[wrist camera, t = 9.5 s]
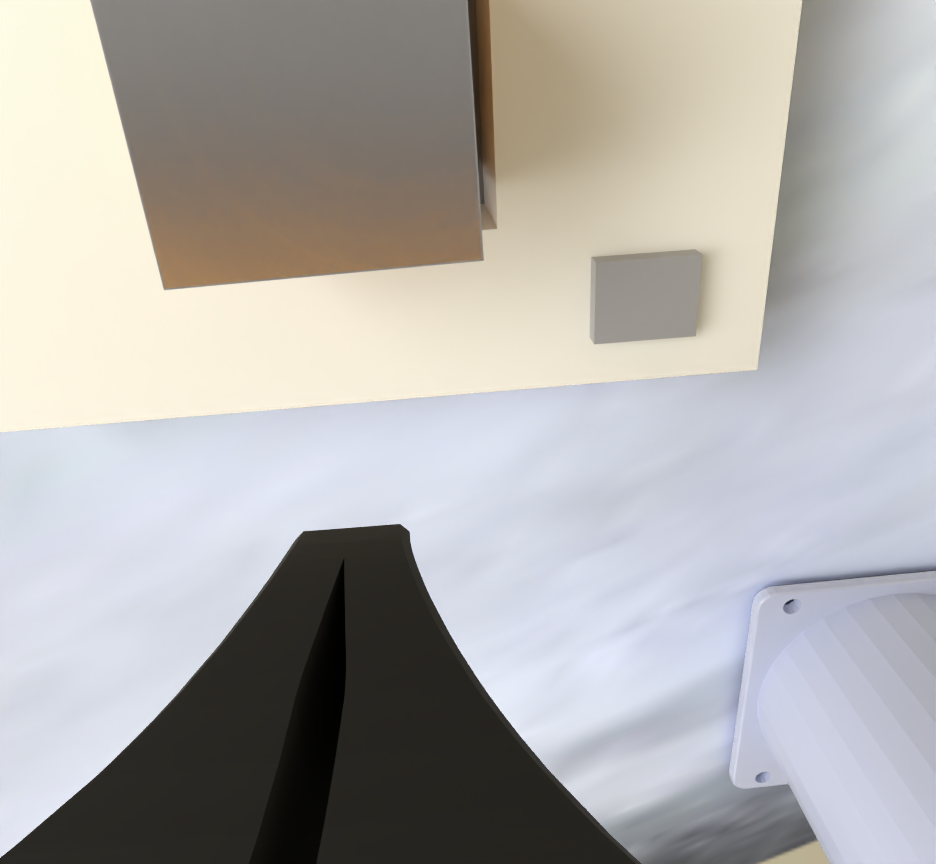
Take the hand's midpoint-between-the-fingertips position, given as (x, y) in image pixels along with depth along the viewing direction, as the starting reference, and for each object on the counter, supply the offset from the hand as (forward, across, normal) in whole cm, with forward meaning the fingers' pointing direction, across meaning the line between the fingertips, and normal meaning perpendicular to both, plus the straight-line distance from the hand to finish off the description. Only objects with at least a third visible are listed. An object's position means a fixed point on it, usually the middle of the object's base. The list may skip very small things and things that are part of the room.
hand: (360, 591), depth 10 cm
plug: (+9, 0, -6) cm, 10 cm away
